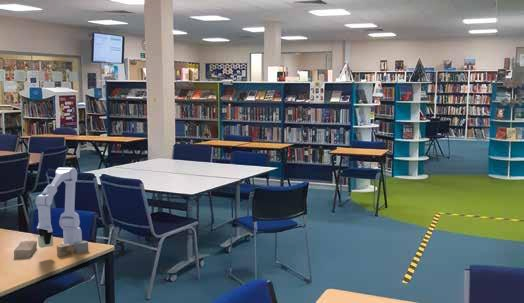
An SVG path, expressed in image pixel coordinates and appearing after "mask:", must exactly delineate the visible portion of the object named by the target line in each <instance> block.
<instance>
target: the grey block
mask: <svg viewBox="0 0 524 303" xmlns="http://www.w3.org/2000/svg"><path fill="white" fill-rule="evenodd" d="M73 246H74V247H73V248H74V252H75V253H76V254H79V253H80V254H81V253H85V252H89V241H87V240H82V241H80V242H75V243H74V245H73Z"/></svg>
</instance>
